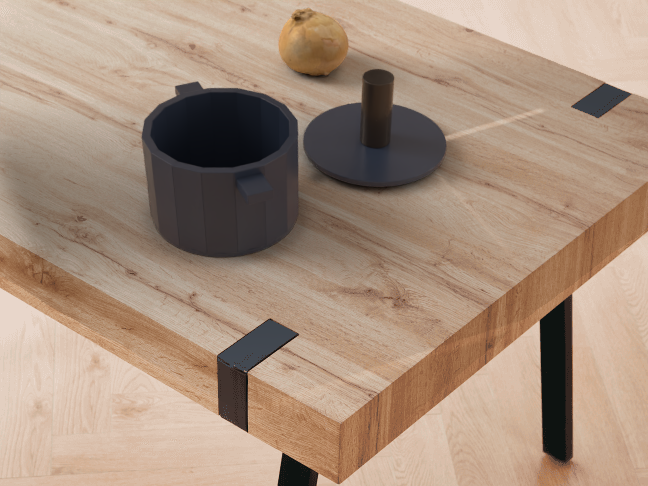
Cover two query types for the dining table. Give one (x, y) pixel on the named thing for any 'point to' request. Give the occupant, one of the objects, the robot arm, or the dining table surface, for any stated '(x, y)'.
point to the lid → (375, 138)
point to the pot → (221, 170)
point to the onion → (312, 42)
